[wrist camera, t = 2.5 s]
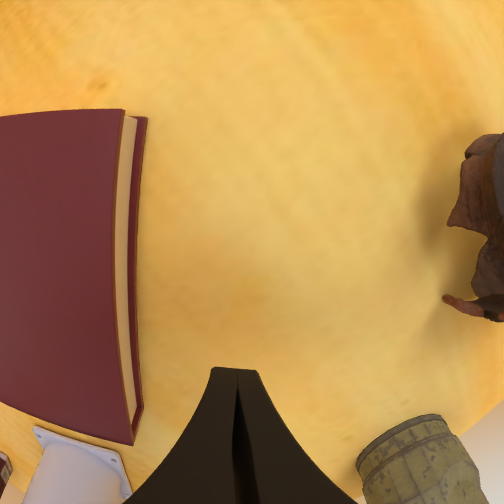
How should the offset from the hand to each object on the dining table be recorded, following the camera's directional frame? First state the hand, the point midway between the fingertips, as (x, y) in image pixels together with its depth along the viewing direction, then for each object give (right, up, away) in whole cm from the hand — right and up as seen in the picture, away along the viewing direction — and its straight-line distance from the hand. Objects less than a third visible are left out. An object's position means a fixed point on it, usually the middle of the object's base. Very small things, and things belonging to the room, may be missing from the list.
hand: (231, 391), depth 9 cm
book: (-10, +3, +4) cm, 11 cm away
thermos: (+13, -12, +11) cm, 21 cm away
